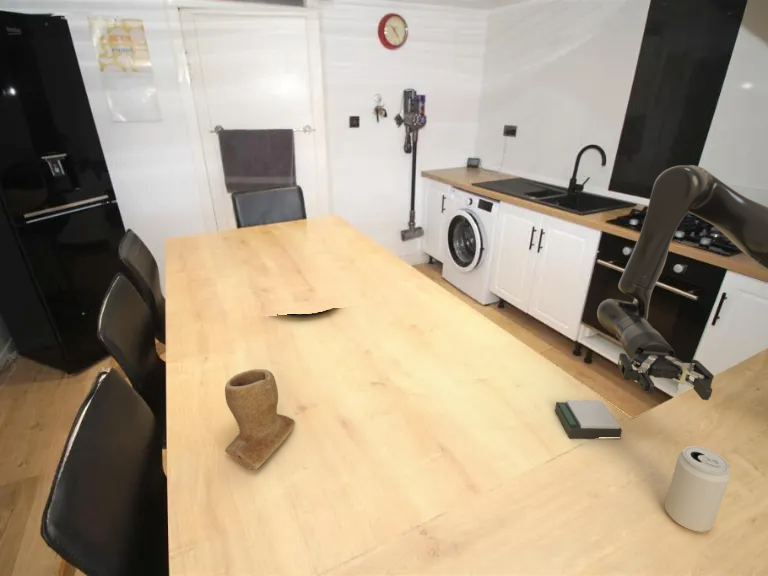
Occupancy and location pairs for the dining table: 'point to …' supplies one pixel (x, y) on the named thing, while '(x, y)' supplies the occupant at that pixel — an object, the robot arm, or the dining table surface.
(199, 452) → the dining table surface
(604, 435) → the scale
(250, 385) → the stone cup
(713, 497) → the beverage can
